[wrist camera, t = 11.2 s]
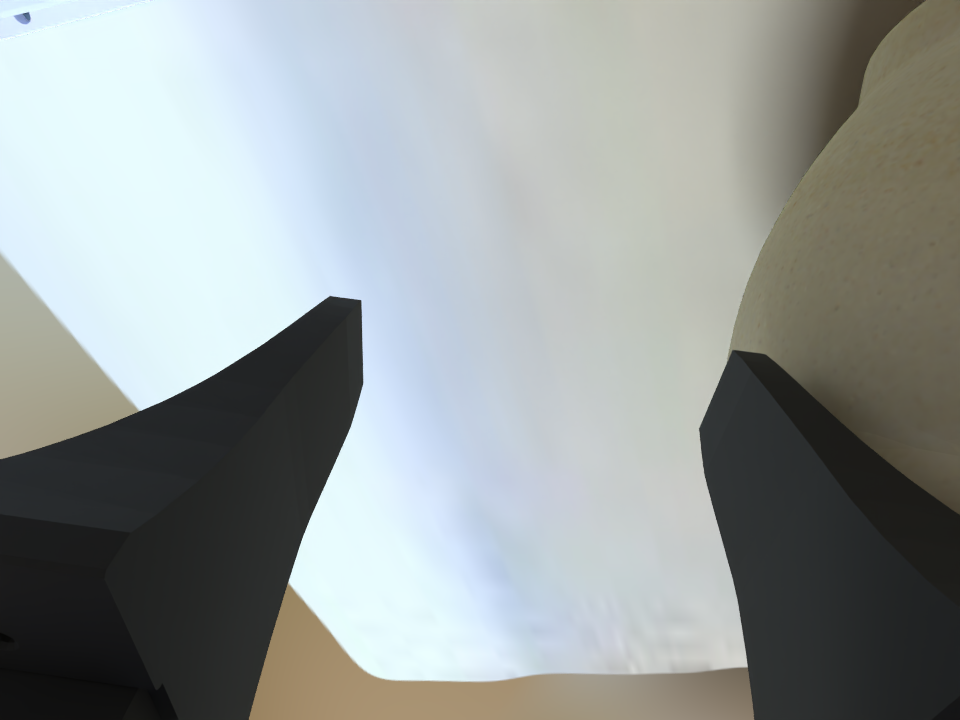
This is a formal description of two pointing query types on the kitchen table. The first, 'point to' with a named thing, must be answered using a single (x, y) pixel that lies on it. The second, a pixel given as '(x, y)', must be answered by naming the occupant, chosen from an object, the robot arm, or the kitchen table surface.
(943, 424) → the planter bowl
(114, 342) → the kitchen table surface
